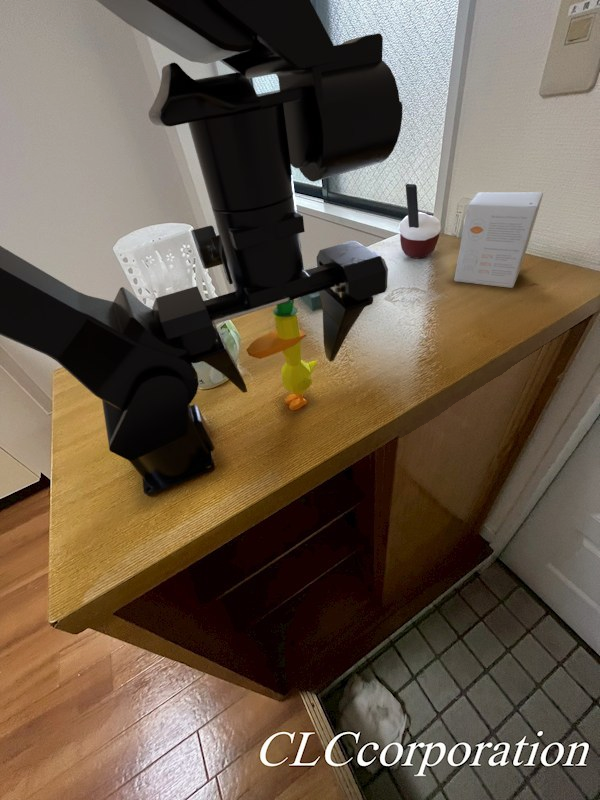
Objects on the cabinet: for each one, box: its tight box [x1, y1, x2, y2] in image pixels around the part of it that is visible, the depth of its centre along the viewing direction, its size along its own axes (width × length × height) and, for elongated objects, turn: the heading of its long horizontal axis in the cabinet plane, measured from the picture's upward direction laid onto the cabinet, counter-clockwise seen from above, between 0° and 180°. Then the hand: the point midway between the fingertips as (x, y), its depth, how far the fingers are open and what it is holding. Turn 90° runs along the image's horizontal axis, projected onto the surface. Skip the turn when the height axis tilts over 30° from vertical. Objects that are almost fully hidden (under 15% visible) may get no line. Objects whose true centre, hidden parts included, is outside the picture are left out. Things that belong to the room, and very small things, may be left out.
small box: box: [454, 191, 544, 289], centre depth 47 cm, size 8×6×10 cm
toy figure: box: [246, 299, 319, 411], centre depth 33 cm, size 7×4×12 cm, turn 118°
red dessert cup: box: [398, 183, 442, 259], centre depth 55 cm, size 10×6×12 cm, turn 119°
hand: (288, 373), depth 34 cm, fingers open, 9 cm apart
